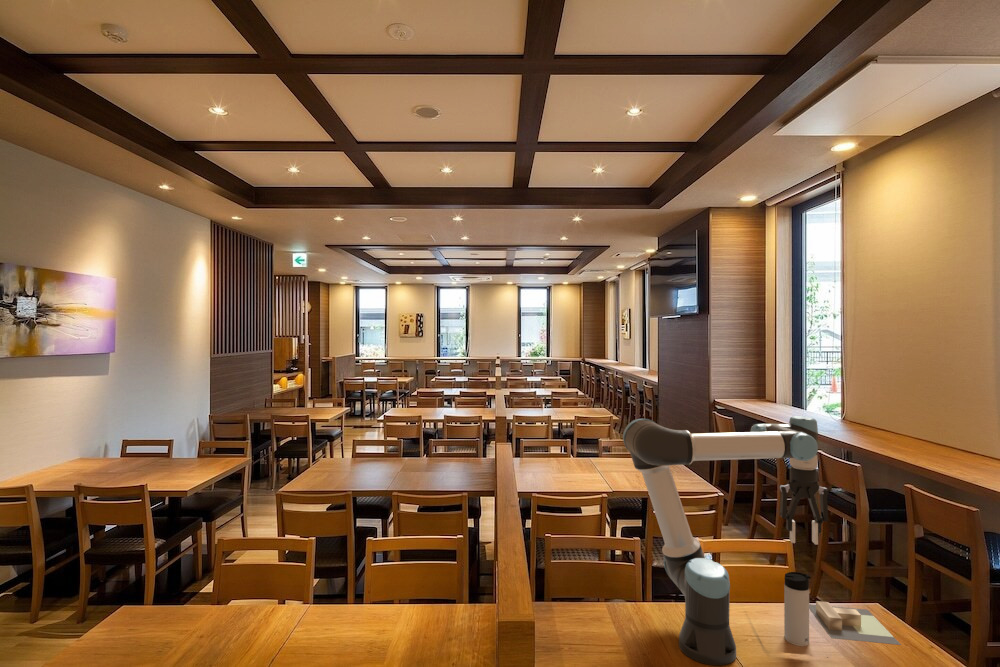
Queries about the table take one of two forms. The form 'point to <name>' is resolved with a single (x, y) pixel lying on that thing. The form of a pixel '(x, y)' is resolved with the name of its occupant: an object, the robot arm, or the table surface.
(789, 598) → the travel mug
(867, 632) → the mat
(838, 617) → the T block
